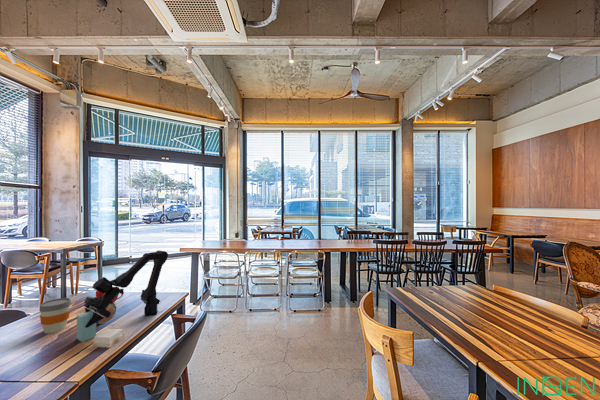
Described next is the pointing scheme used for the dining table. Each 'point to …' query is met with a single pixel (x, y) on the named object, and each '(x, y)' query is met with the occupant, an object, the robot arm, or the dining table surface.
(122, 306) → the dining table surface
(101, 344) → the tower base
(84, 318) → the teal pillar
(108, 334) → the tower top
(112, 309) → the tin
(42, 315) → the reusable coffee cup
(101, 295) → the ceramic cup
